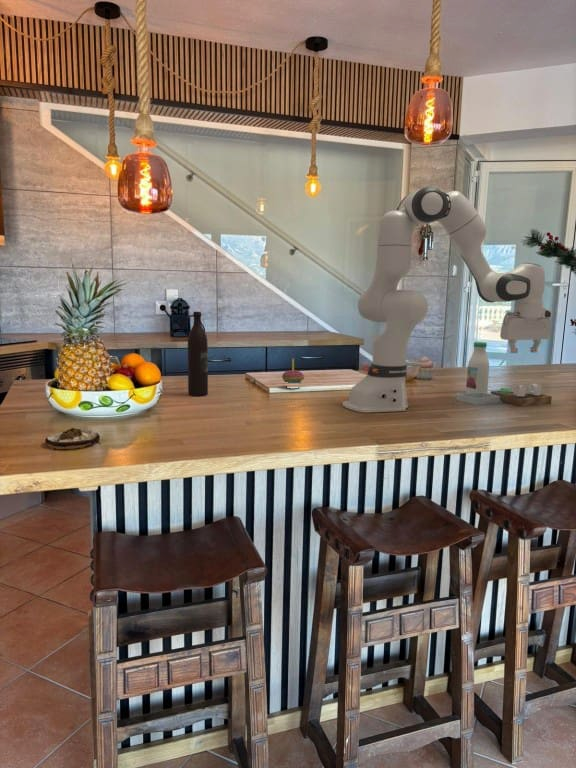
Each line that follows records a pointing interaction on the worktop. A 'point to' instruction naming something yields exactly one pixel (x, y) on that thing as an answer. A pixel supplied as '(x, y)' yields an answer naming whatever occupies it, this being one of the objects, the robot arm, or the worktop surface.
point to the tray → (477, 398)
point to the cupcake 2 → (426, 369)
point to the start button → (505, 390)
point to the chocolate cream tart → (72, 439)
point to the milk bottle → (478, 369)
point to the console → (500, 393)
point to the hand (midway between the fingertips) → (523, 352)
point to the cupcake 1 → (293, 375)
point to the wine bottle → (197, 359)
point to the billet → (519, 391)
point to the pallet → (526, 400)
